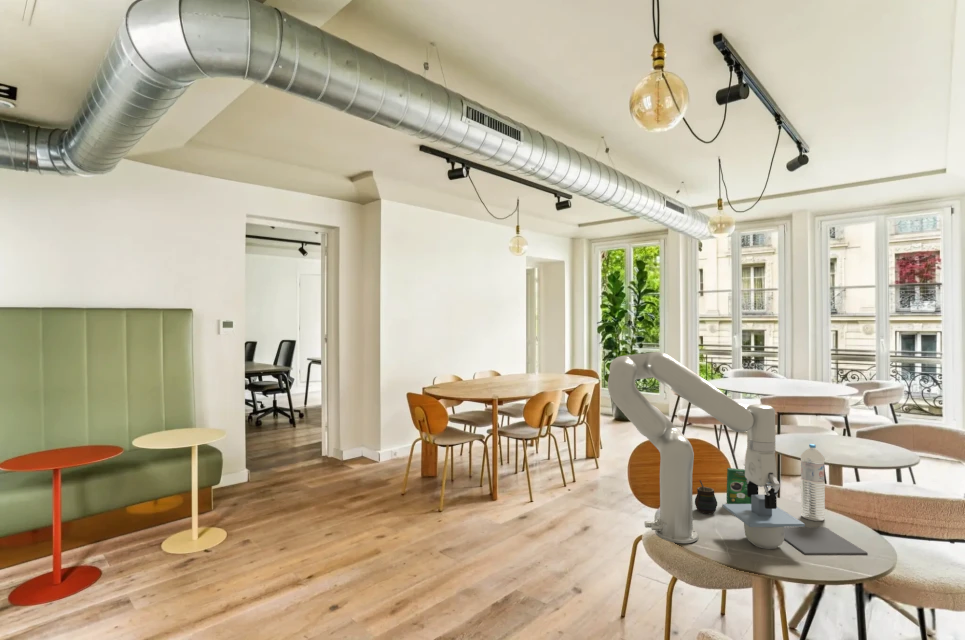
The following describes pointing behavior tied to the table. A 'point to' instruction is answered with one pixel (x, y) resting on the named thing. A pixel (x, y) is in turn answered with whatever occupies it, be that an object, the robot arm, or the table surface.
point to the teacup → (765, 536)
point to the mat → (820, 541)
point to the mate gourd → (705, 500)
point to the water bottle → (812, 485)
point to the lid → (762, 514)
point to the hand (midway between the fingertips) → (761, 502)
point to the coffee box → (737, 487)
